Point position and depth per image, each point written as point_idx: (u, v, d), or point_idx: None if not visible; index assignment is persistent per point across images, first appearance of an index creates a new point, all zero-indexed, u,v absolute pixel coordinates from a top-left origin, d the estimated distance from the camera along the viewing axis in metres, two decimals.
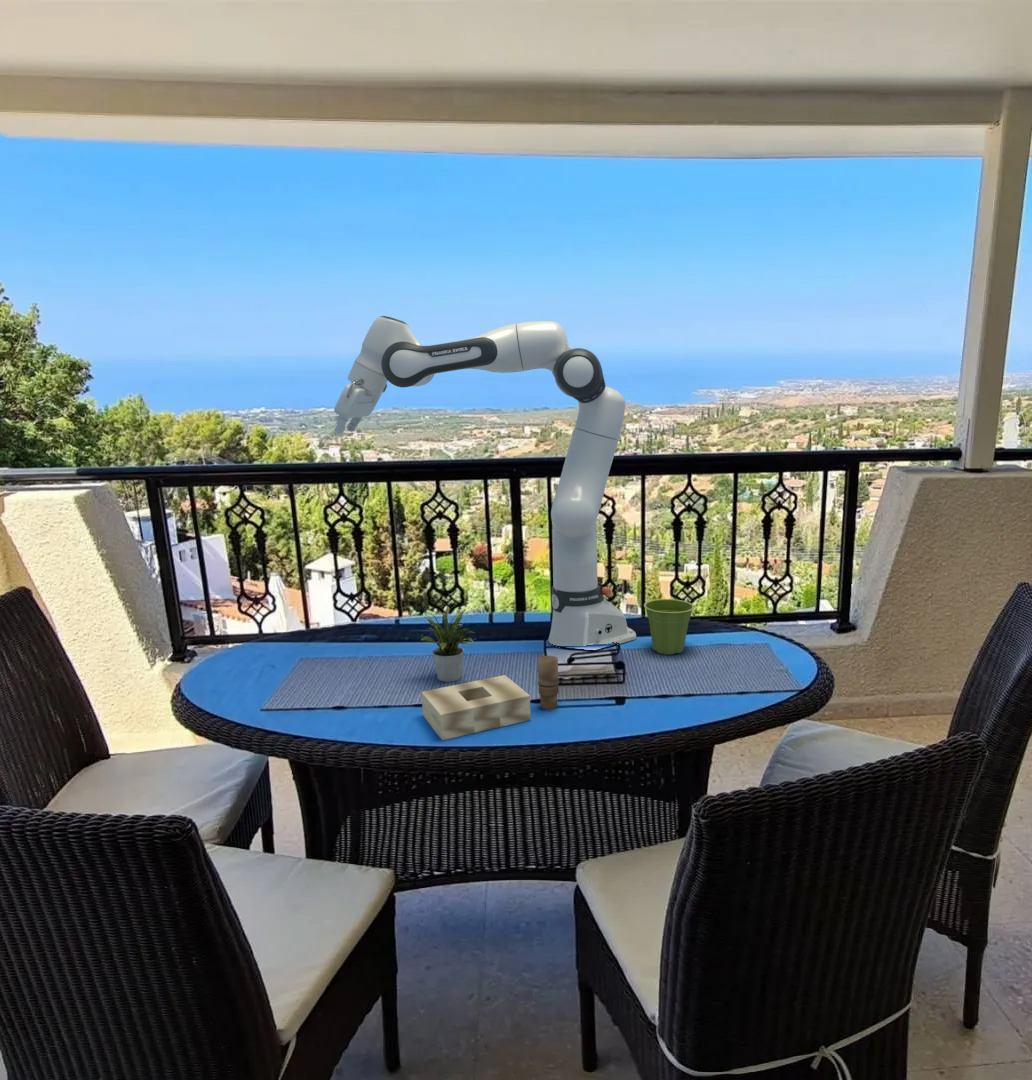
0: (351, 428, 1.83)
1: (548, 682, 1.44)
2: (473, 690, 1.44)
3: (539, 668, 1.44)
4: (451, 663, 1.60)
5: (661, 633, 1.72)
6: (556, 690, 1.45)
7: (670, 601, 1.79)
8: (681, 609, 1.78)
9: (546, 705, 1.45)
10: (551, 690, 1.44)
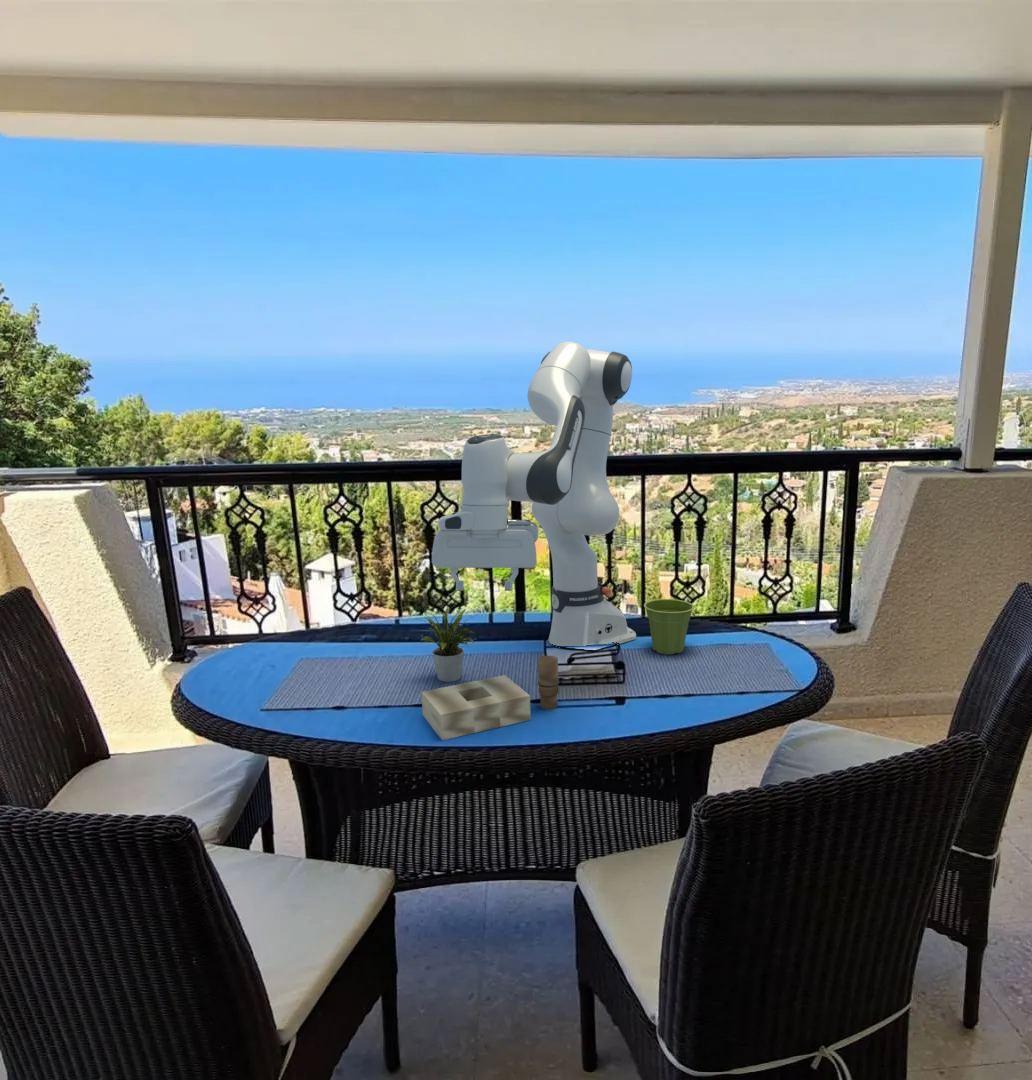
0: (463, 586, 1.41)
1: (548, 682, 1.44)
2: (473, 690, 1.44)
3: (539, 668, 1.44)
4: (451, 663, 1.60)
5: (661, 633, 1.72)
6: (556, 690, 1.45)
7: (670, 601, 1.79)
8: (681, 609, 1.78)
9: (546, 705, 1.45)
10: (551, 690, 1.44)
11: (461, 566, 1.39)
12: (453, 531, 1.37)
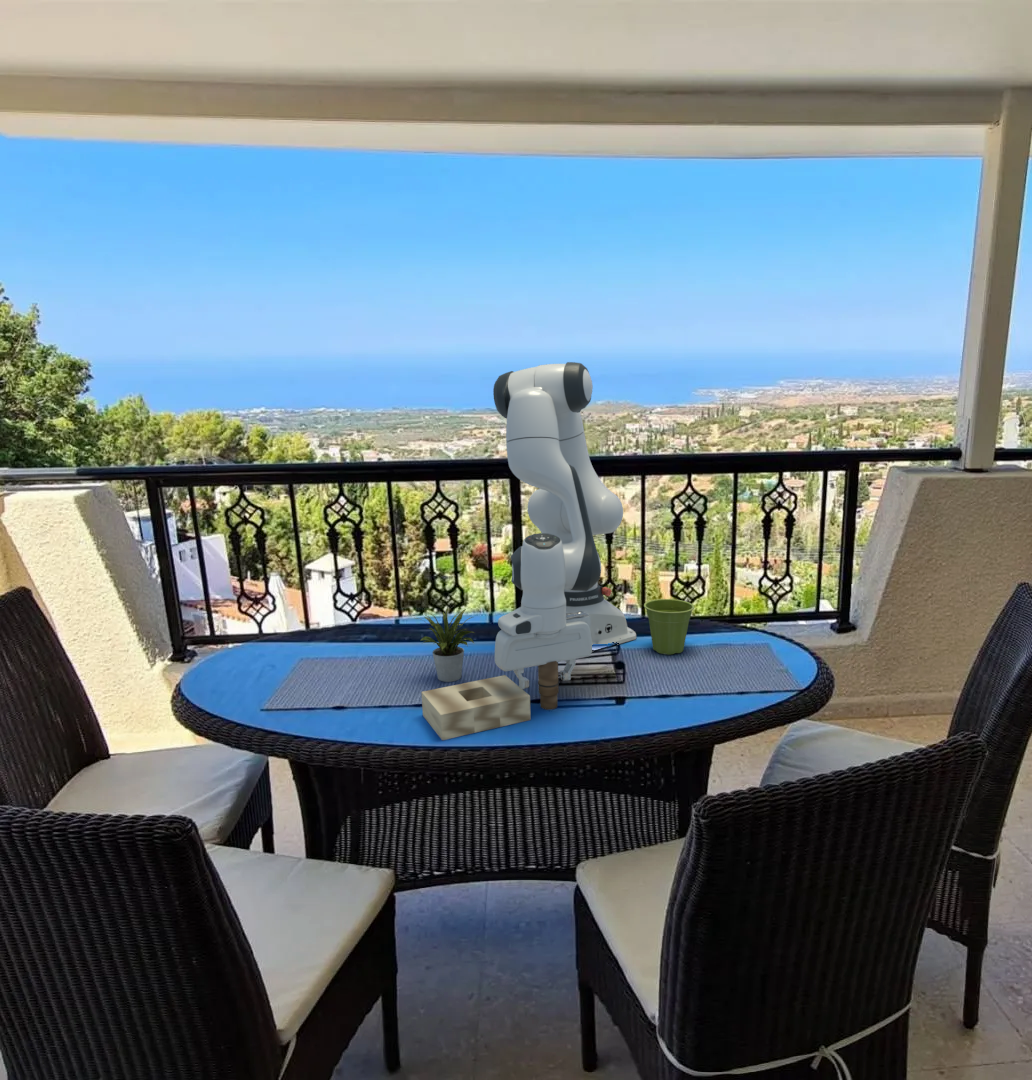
0: None
1: (548, 682, 1.44)
2: (473, 690, 1.44)
3: (539, 668, 1.44)
4: (451, 663, 1.60)
5: (662, 633, 1.72)
6: (556, 690, 1.45)
7: (670, 601, 1.79)
8: (681, 609, 1.78)
9: (546, 705, 1.45)
10: (551, 690, 1.44)
11: (528, 666, 1.42)
12: (522, 635, 1.39)
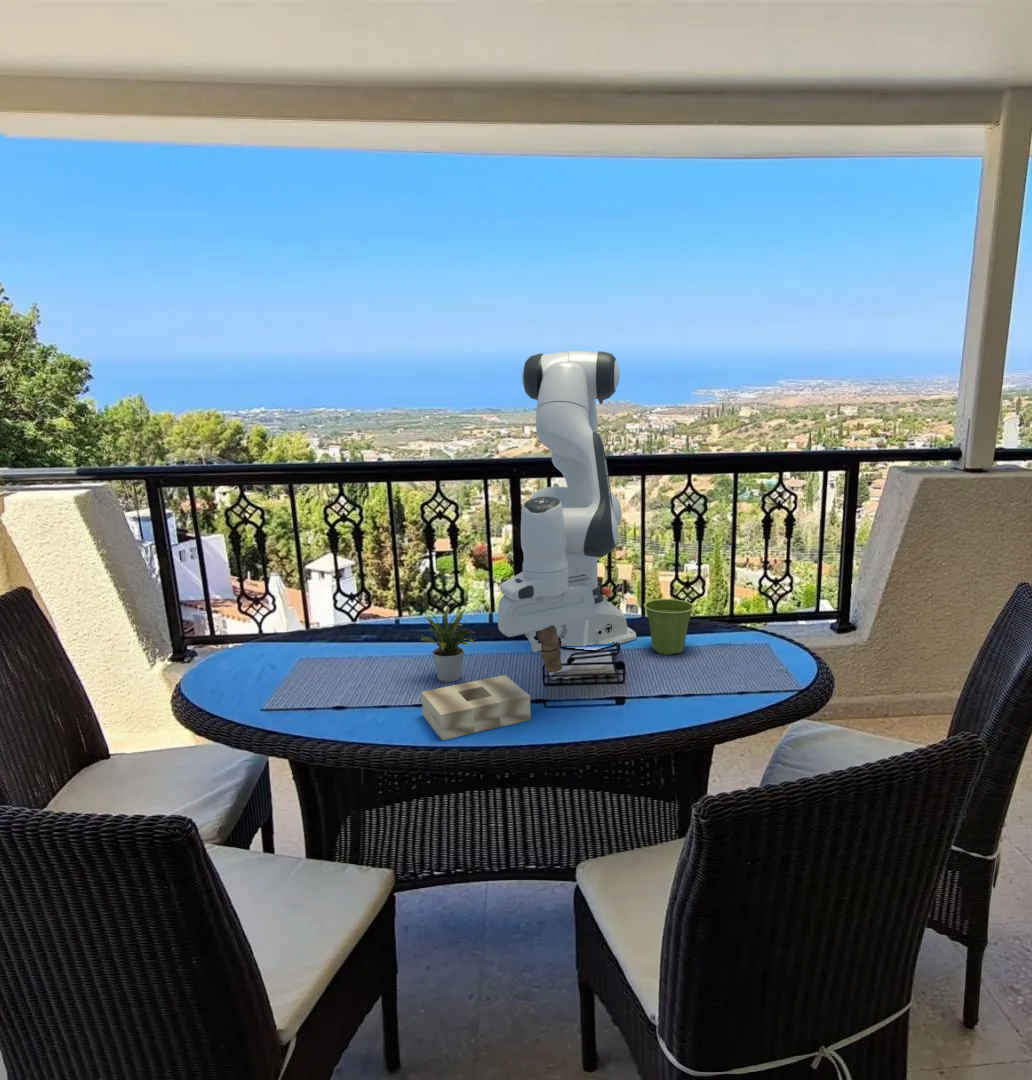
0: None
1: (549, 647, 1.43)
2: (473, 690, 1.44)
3: (538, 635, 1.43)
4: (451, 663, 1.60)
5: (661, 633, 1.72)
6: (558, 652, 1.44)
7: (670, 601, 1.79)
8: (681, 609, 1.78)
9: (551, 668, 1.45)
10: (553, 654, 1.44)
11: (532, 631, 1.41)
12: (525, 599, 1.38)
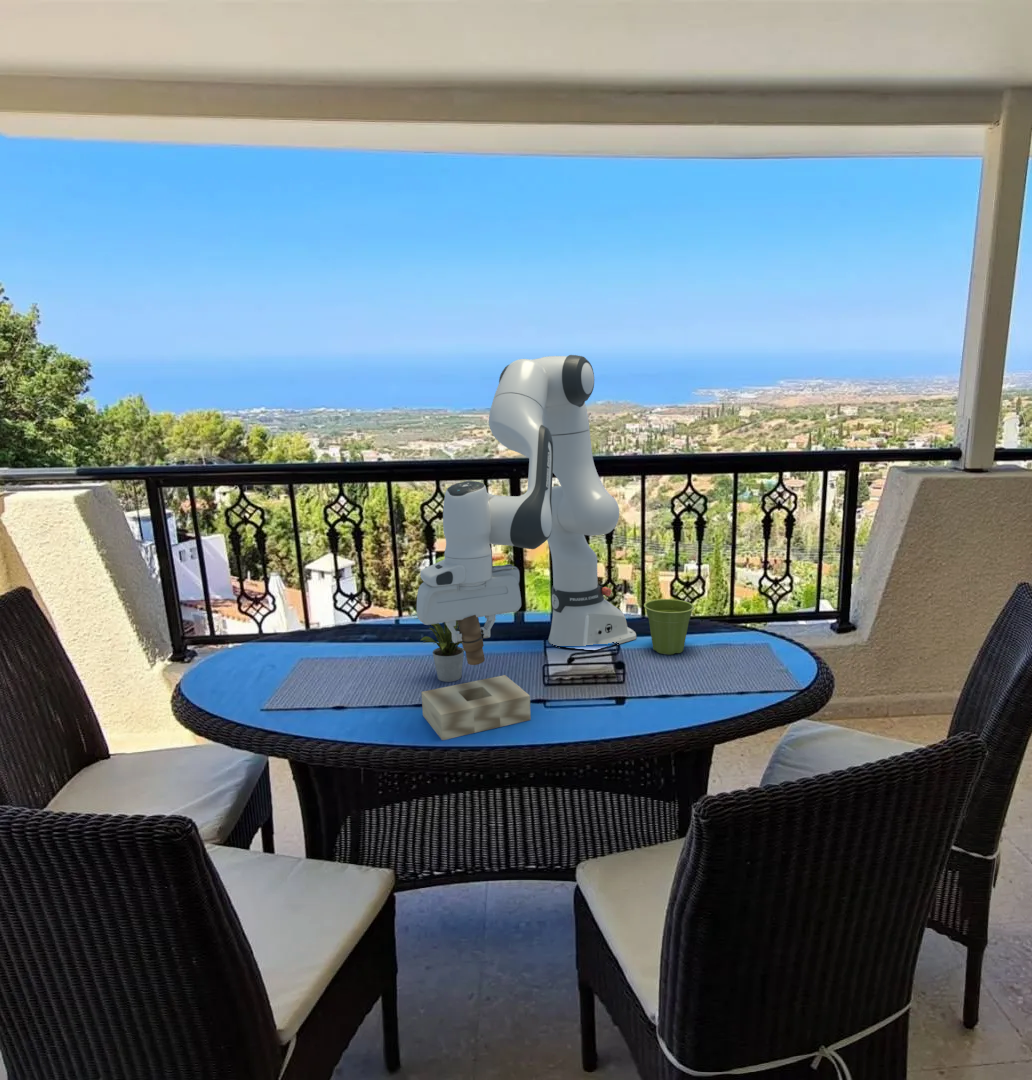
0: None
1: (469, 638, 1.37)
2: (473, 690, 1.44)
3: (459, 624, 1.38)
4: (451, 663, 1.60)
5: (662, 633, 1.72)
6: (480, 644, 1.39)
7: (670, 601, 1.79)
8: (681, 609, 1.78)
9: (472, 660, 1.39)
10: (474, 645, 1.38)
11: (451, 620, 1.35)
12: (444, 586, 1.33)
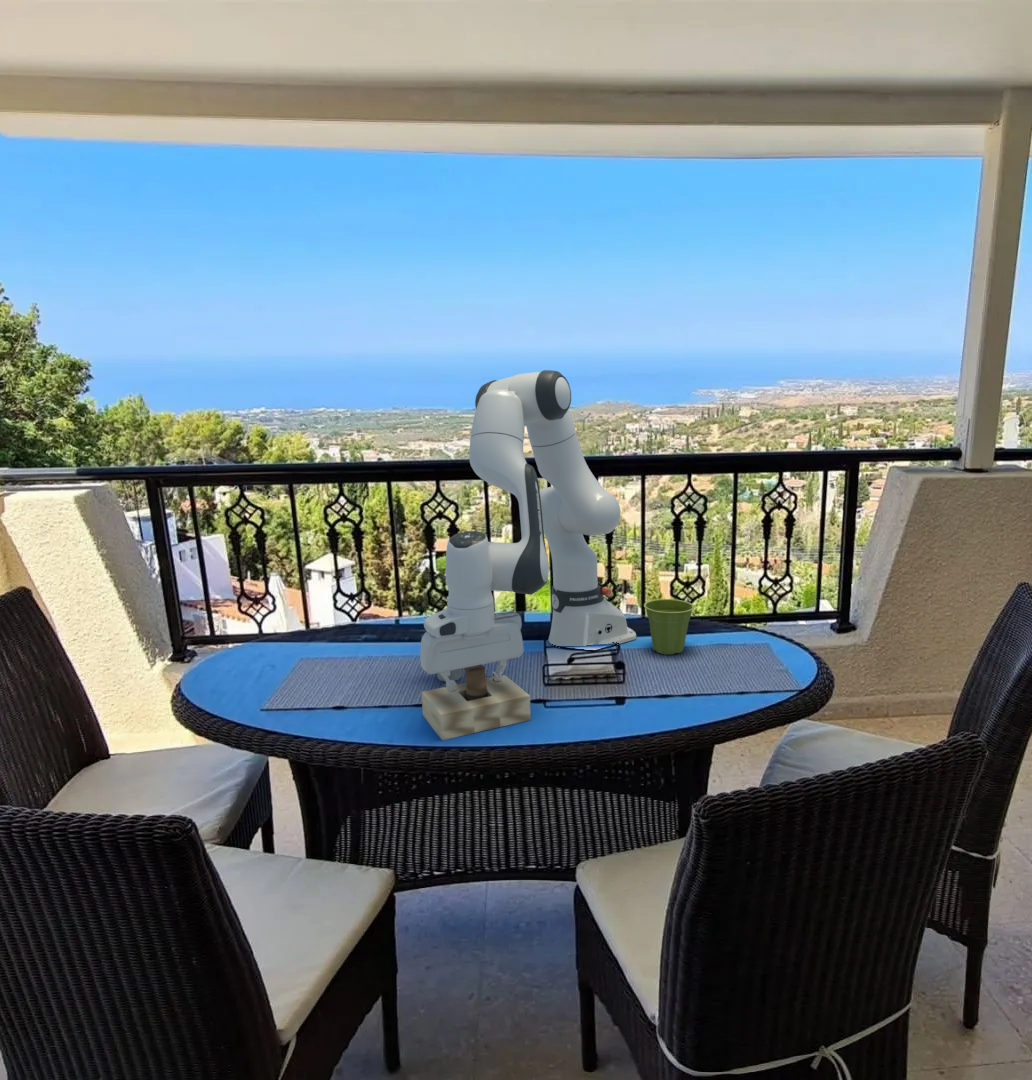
0: None
1: (475, 692, 1.40)
2: None
3: (466, 678, 1.41)
4: None
5: (662, 633, 1.72)
6: None
7: (670, 601, 1.79)
8: (681, 609, 1.78)
9: None
10: None
11: (455, 668, 1.37)
12: (447, 636, 1.34)
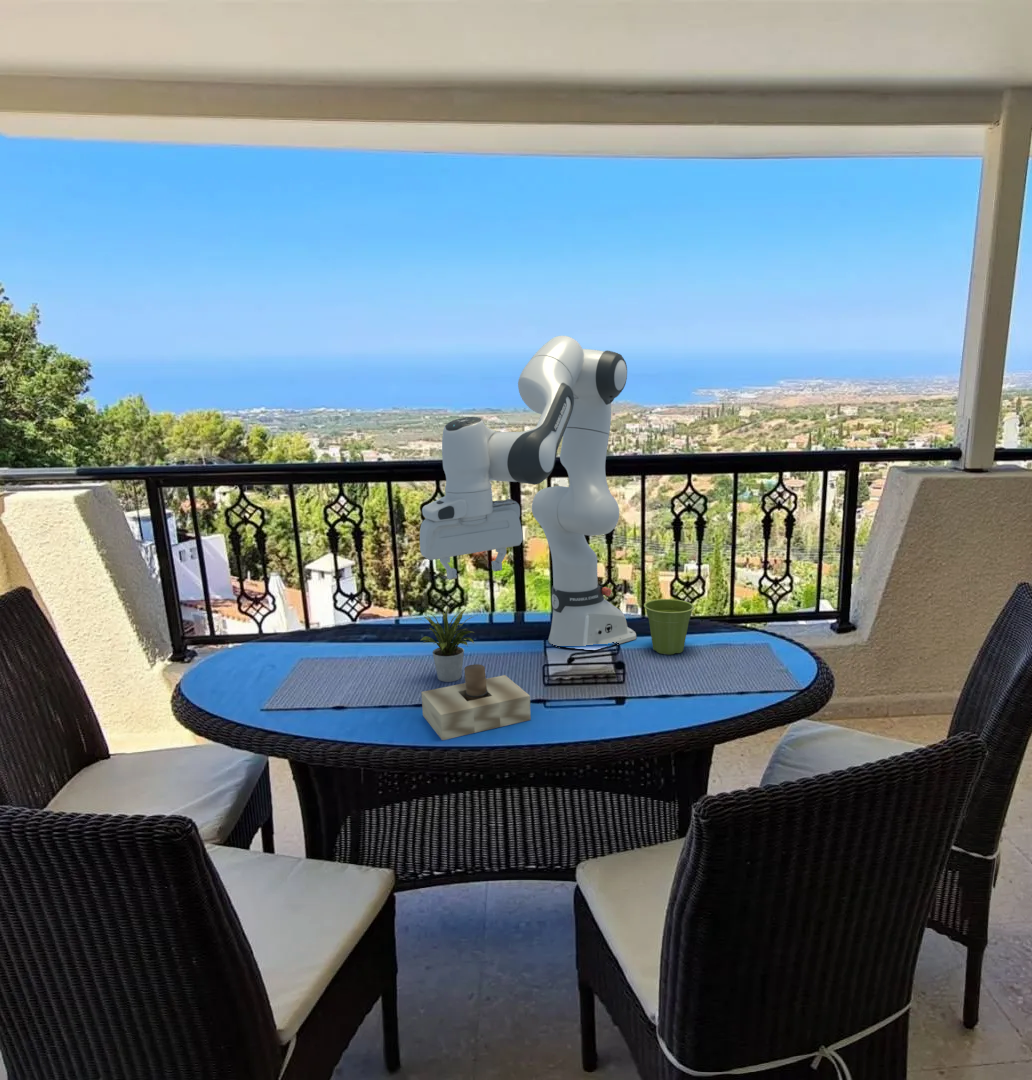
0: None
1: (475, 692, 1.40)
2: None
3: (466, 678, 1.41)
4: (450, 663, 1.60)
5: (662, 633, 1.72)
6: None
7: (670, 601, 1.79)
8: (681, 609, 1.78)
9: None
10: None
11: (454, 554, 1.37)
12: (446, 521, 1.34)
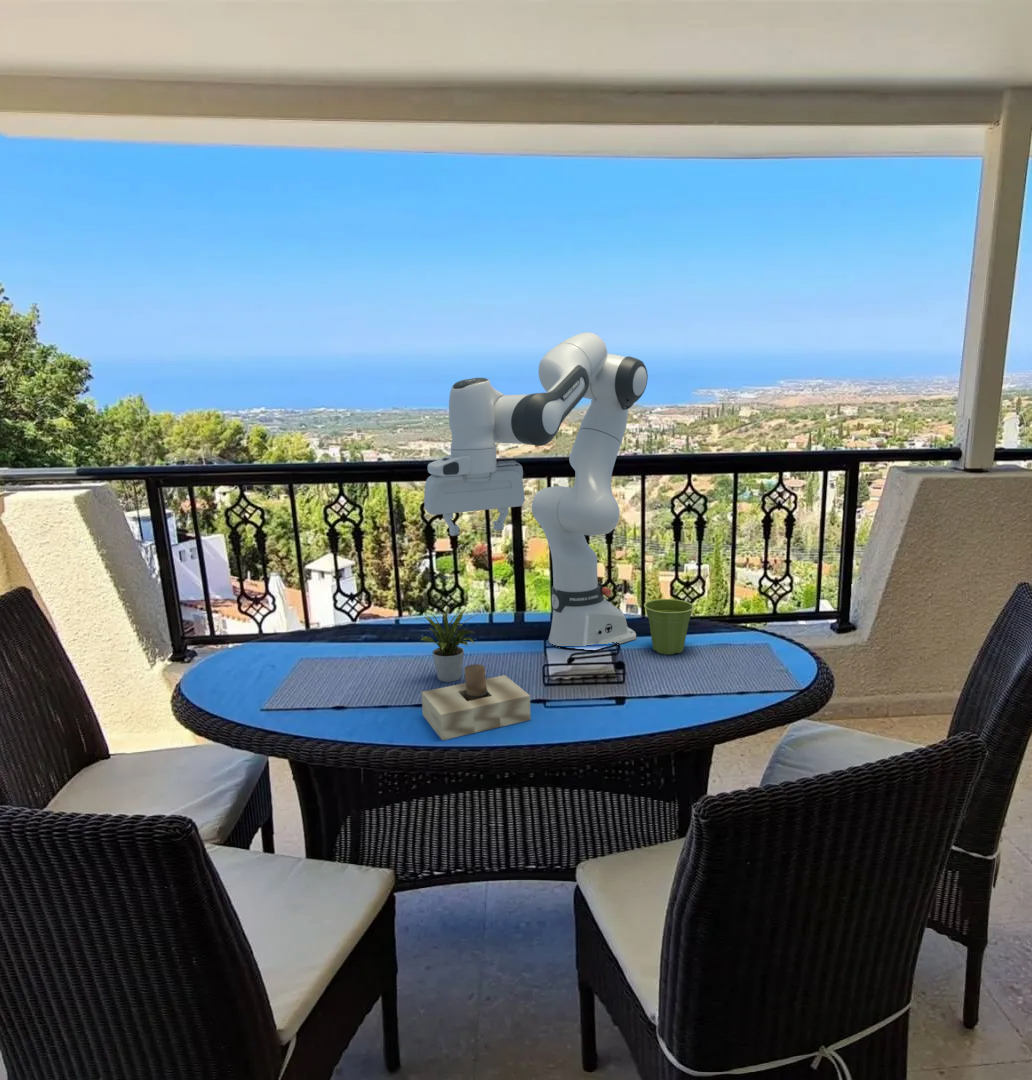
0: None
1: (475, 692, 1.40)
2: None
3: (466, 678, 1.41)
4: (451, 663, 1.60)
5: (662, 633, 1.72)
6: None
7: (670, 601, 1.79)
8: (681, 609, 1.78)
9: None
10: None
11: (457, 511, 1.41)
12: (451, 476, 1.38)
